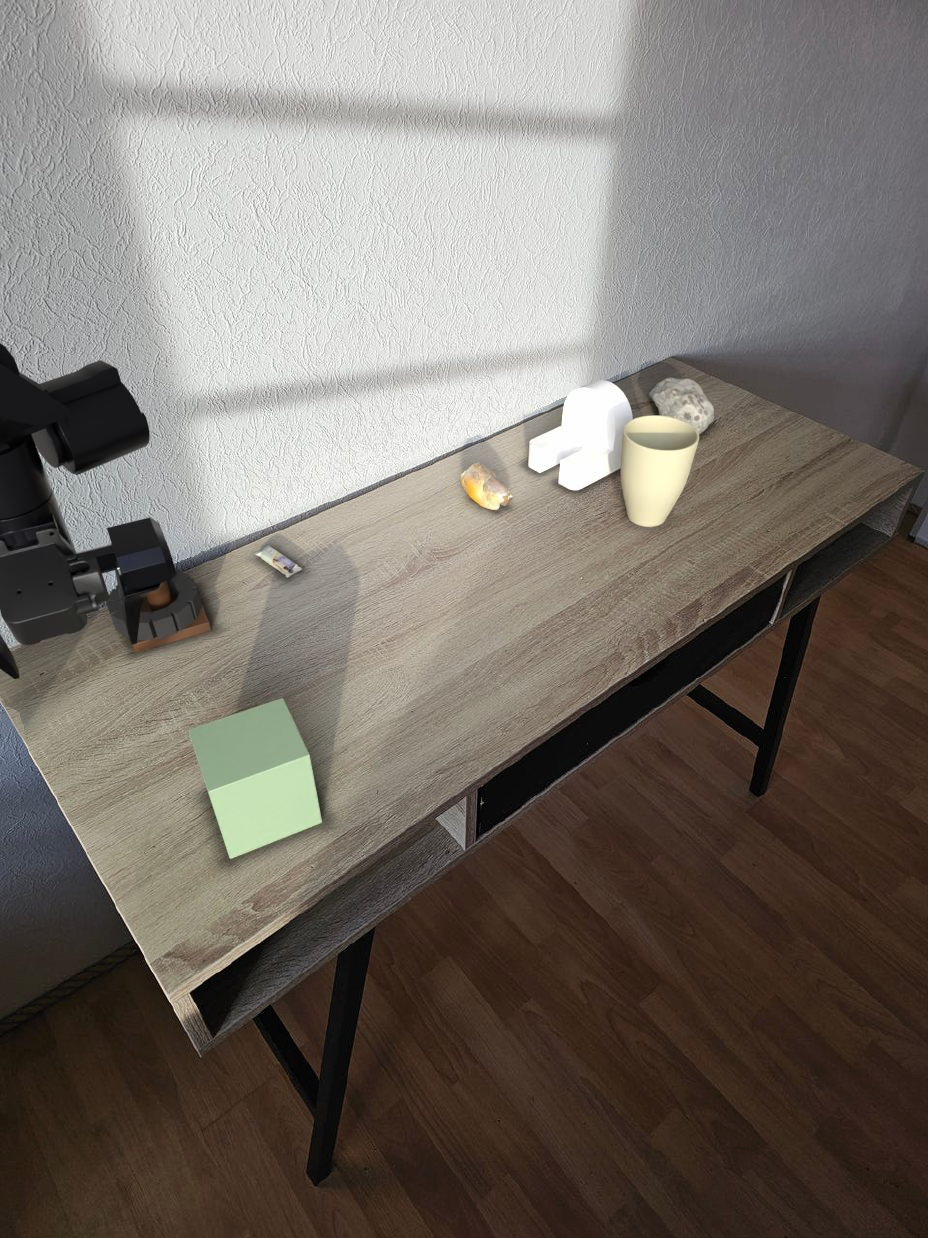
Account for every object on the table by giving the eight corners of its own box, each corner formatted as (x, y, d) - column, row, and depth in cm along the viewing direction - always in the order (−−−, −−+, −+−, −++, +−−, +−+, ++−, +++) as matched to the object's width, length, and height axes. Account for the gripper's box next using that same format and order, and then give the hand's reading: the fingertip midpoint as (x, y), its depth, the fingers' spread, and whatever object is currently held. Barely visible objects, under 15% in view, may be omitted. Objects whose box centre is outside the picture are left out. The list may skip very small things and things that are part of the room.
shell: (522, 503, 109) (521, 485, 104) (499, 526, 108) (497, 510, 103) (478, 469, 111) (475, 451, 107) (455, 491, 110) (452, 474, 106)
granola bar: (254, 556, 99) (252, 549, 98) (270, 548, 100) (268, 541, 99) (288, 581, 95) (286, 574, 95) (304, 572, 96) (303, 565, 96)
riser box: (230, 859, 67) (208, 792, 62) (209, 797, 72) (187, 729, 66) (322, 823, 70) (310, 754, 64) (296, 765, 75) (283, 697, 69)
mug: (701, 520, 105) (721, 436, 97) (642, 544, 101) (658, 458, 93) (644, 482, 112) (658, 400, 104) (587, 503, 108) (597, 419, 100)
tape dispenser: (524, 464, 116) (528, 393, 109) (608, 424, 125) (617, 356, 118) (574, 492, 110) (582, 418, 103) (658, 448, 119) (671, 378, 112)
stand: (135, 653, 86) (116, 600, 81) (122, 609, 91) (104, 557, 87) (211, 630, 89) (197, 578, 84) (194, 589, 94) (180, 537, 90)
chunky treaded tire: (123, 651, 85) (117, 633, 83) (105, 601, 91) (99, 584, 89) (211, 622, 88) (206, 605, 86) (188, 576, 94) (183, 559, 92)
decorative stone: (627, 410, 128) (632, 379, 125) (679, 393, 133) (684, 364, 130) (682, 442, 121) (688, 411, 117) (735, 424, 125) (742, 393, 122)
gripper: (-149, 601, 49) (-44, 766, 60) (166, 522, 56) (212, 684, 66) (-140, 509, 57) (-49, 670, 67) (137, 449, 63) (182, 604, 73)
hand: (76, 658), depth 68 cm, fingers open, 9 cm apart
